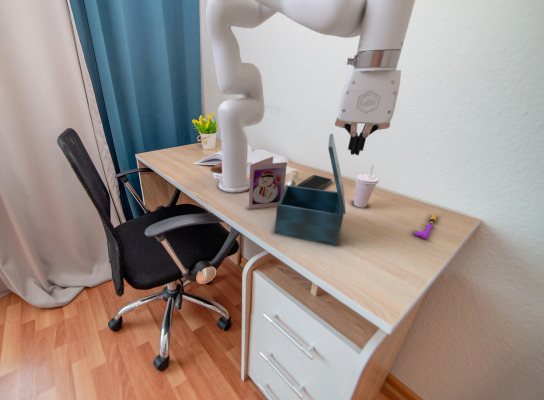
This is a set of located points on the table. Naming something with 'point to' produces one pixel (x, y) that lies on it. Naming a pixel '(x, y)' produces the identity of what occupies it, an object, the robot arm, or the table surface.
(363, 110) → the robot arm
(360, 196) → the smoothie
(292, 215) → the keepsake box
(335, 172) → the lid
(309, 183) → the phone
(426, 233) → the purple bent handle tool
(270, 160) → the greeting card
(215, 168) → the sunglasses case
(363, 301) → the table surface
